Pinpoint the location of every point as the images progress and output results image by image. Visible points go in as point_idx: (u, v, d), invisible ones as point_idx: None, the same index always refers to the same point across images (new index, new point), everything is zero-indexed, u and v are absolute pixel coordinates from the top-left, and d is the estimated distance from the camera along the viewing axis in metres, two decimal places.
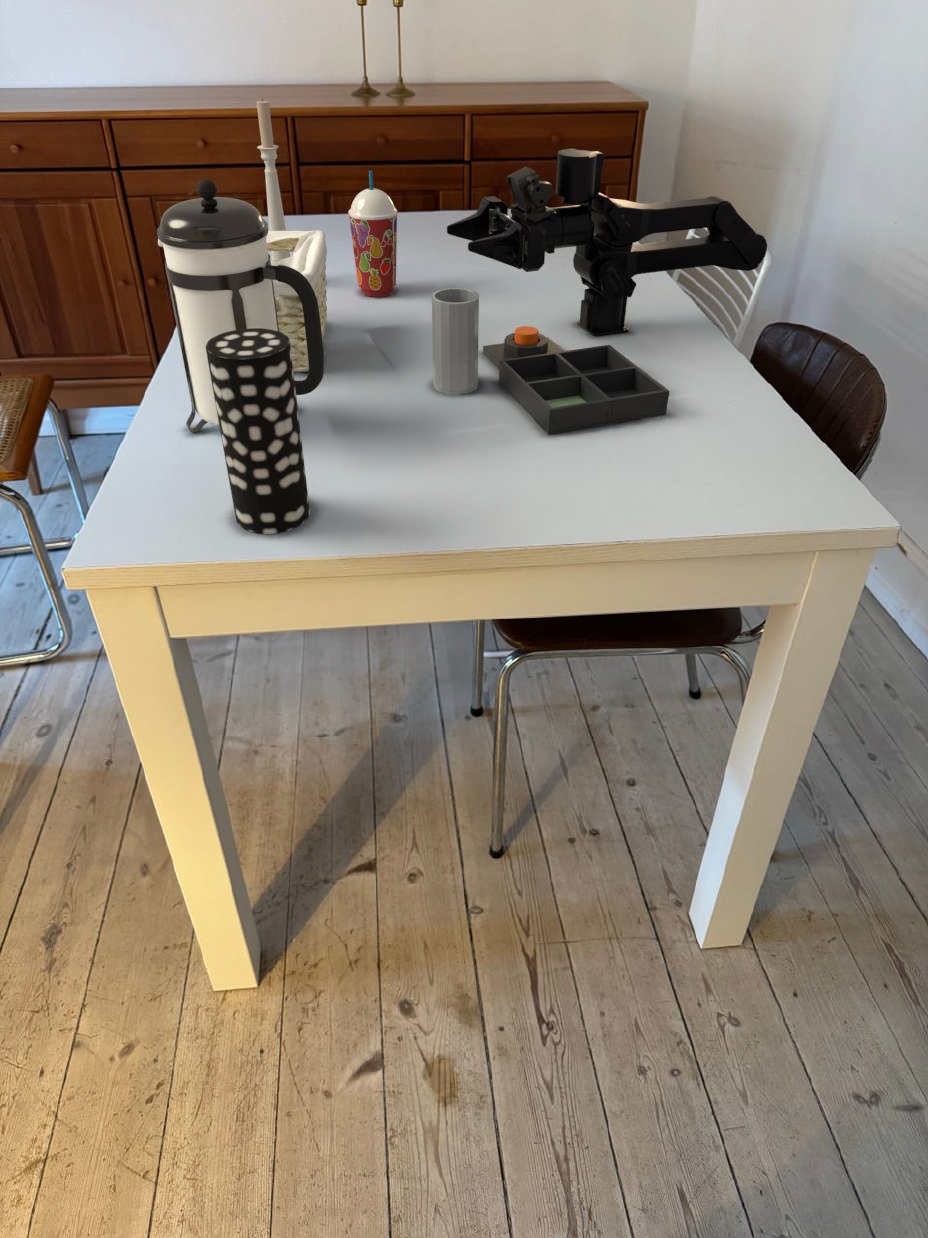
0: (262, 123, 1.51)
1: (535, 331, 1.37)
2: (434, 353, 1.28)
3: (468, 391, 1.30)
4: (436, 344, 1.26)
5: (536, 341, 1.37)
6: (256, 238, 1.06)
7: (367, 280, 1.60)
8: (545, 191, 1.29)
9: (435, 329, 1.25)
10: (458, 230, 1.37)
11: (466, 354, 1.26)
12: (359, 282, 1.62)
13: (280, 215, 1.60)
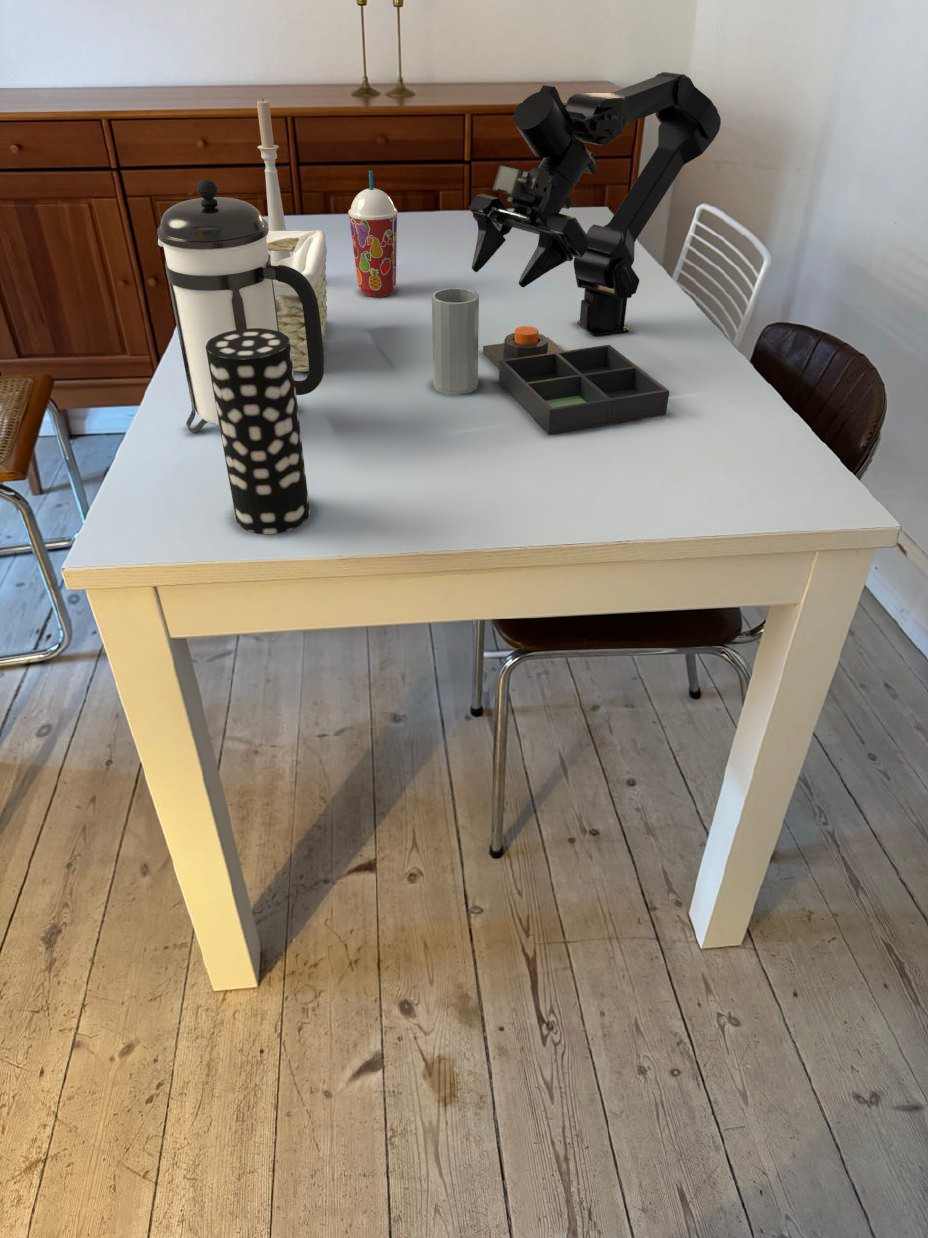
0: (262, 123, 1.51)
1: (535, 331, 1.37)
2: (434, 353, 1.28)
3: (468, 391, 1.30)
4: (436, 344, 1.26)
5: (536, 341, 1.37)
6: (256, 238, 1.06)
7: (367, 280, 1.60)
8: (543, 179, 1.20)
9: (435, 329, 1.25)
10: (481, 260, 1.31)
11: (466, 354, 1.26)
12: (359, 282, 1.62)
13: (281, 215, 1.60)
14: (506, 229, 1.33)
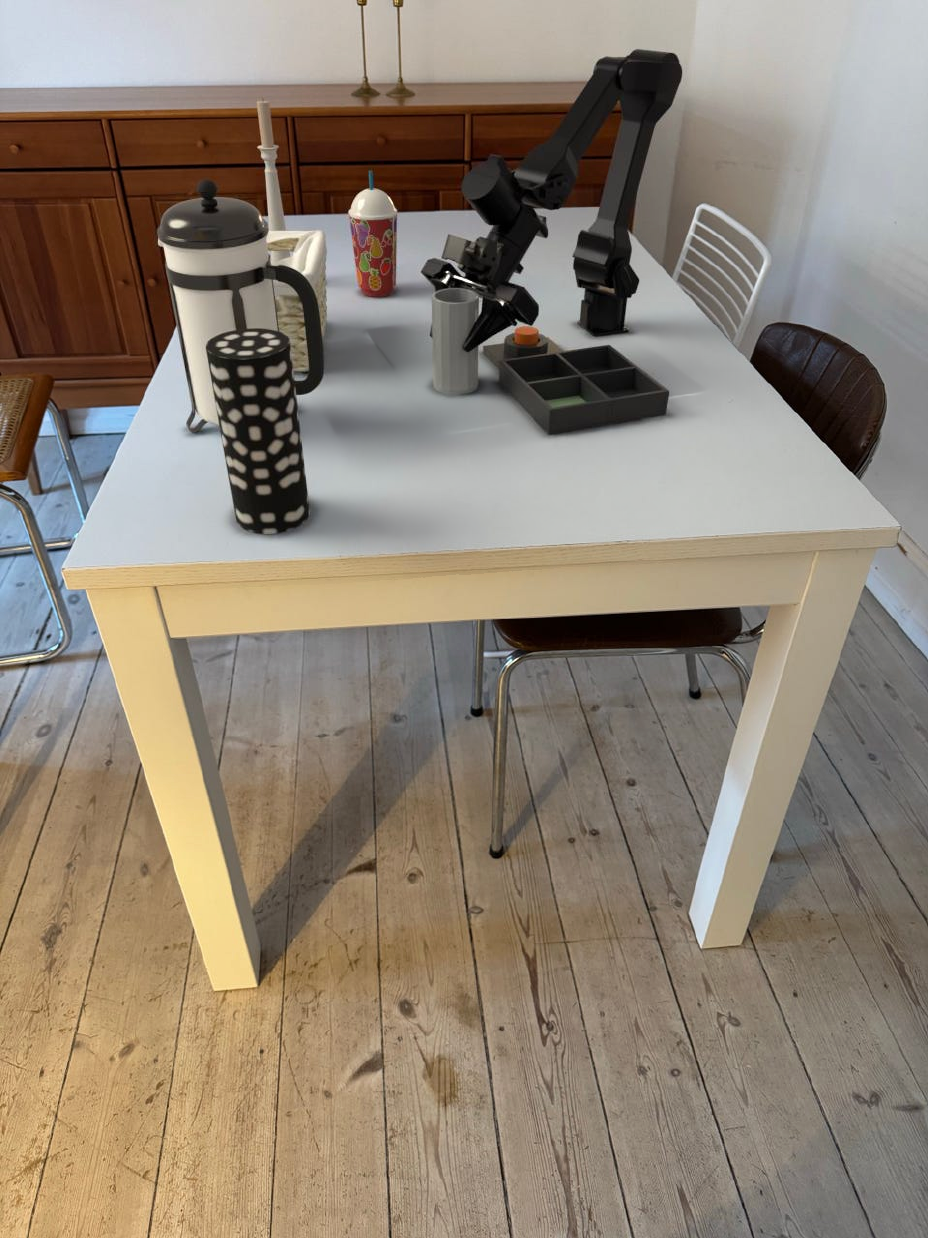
0: (262, 123, 1.51)
1: (535, 331, 1.37)
2: (434, 353, 1.28)
3: (468, 391, 1.30)
4: (436, 344, 1.26)
5: (536, 341, 1.37)
6: (256, 238, 1.06)
7: (367, 280, 1.60)
8: (491, 249, 1.19)
9: (435, 329, 1.25)
10: None
11: (466, 354, 1.26)
12: (359, 282, 1.62)
13: (281, 215, 1.60)
14: None
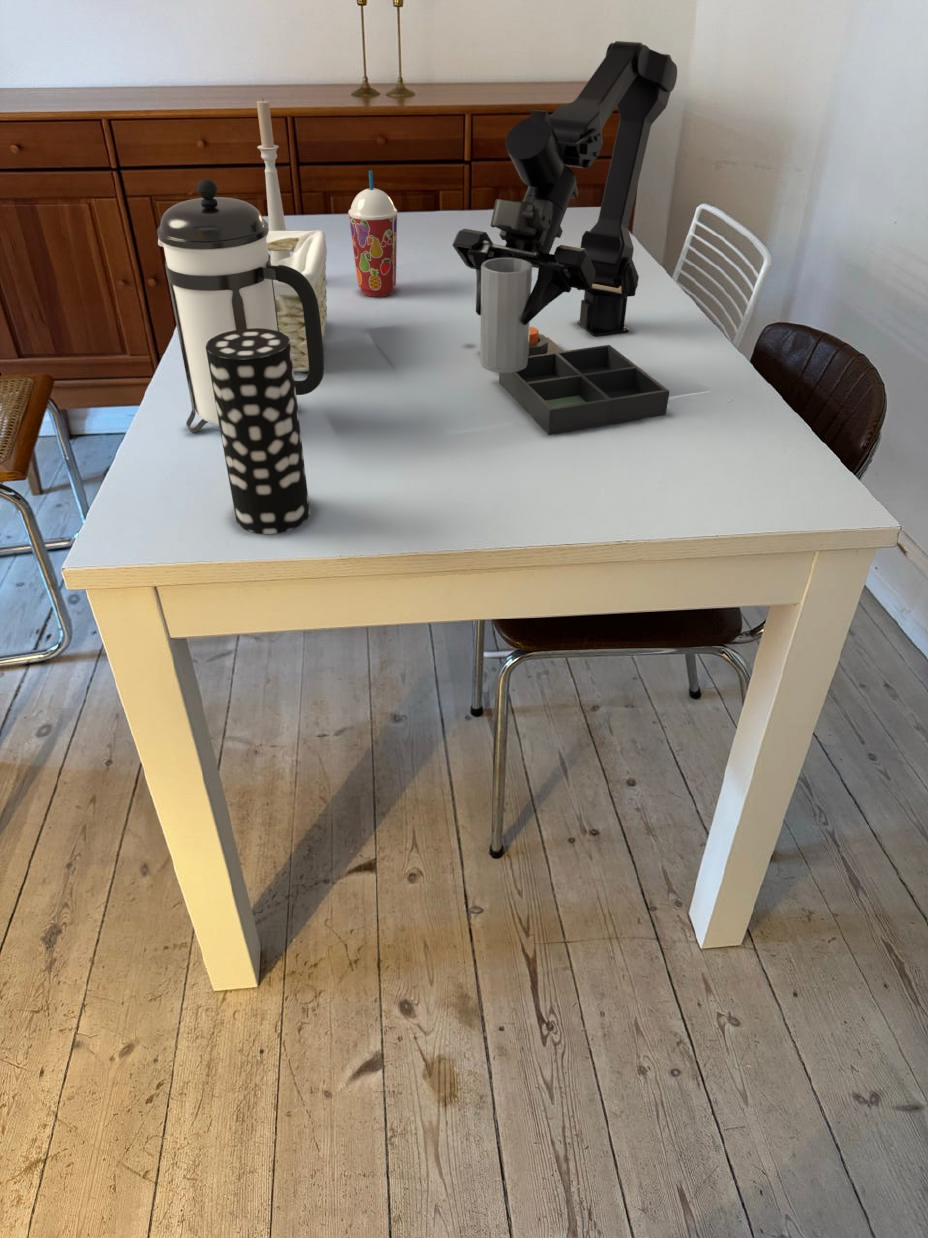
0: (262, 123, 1.51)
1: (535, 331, 1.37)
2: (486, 330, 1.19)
3: (522, 367, 1.22)
4: (490, 319, 1.18)
5: (536, 341, 1.37)
6: (256, 238, 1.06)
7: (367, 280, 1.60)
8: (548, 211, 1.12)
9: (489, 303, 1.16)
10: None
11: (522, 327, 1.18)
12: (359, 282, 1.62)
13: (281, 215, 1.60)
14: None
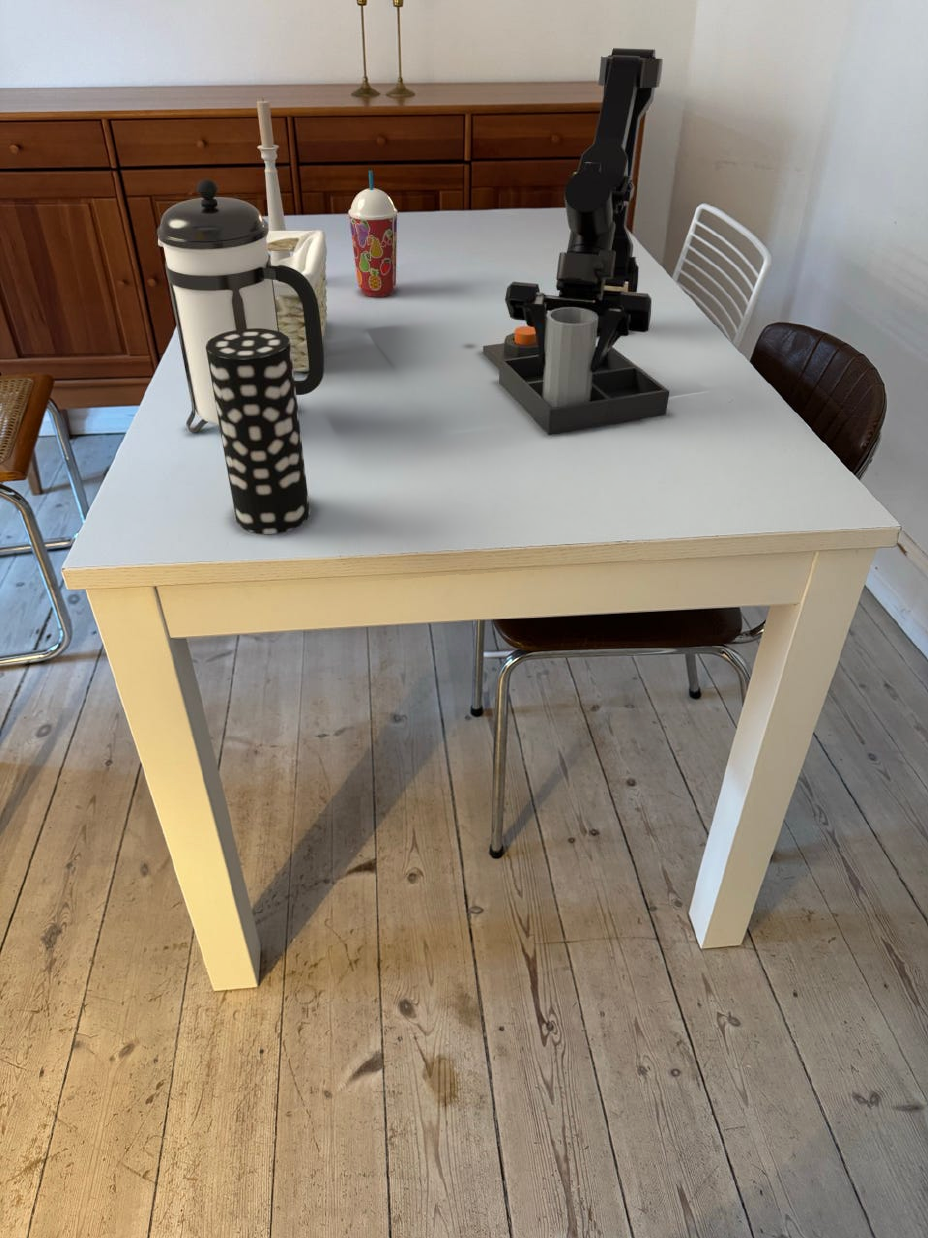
0: (262, 123, 1.51)
1: None
2: (555, 381, 1.19)
3: None
4: (561, 371, 1.17)
5: (536, 341, 1.37)
6: (256, 238, 1.06)
7: (367, 280, 1.60)
8: (613, 261, 1.13)
9: (560, 355, 1.16)
10: None
11: (590, 374, 1.19)
12: (359, 282, 1.62)
13: (281, 215, 1.60)
14: None
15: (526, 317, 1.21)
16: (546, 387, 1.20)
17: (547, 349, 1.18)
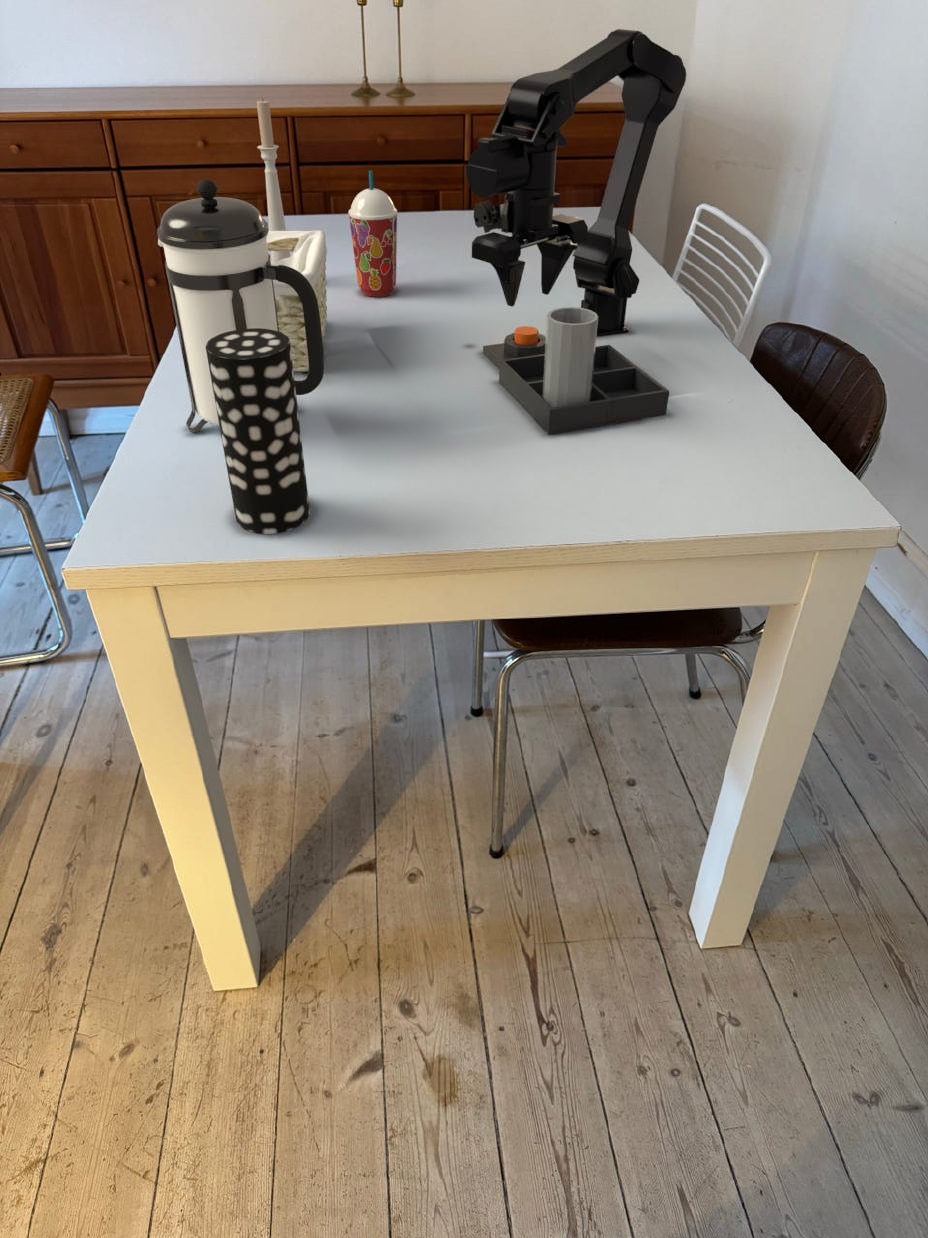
0: (262, 123, 1.51)
1: (535, 331, 1.37)
2: (555, 381, 1.19)
3: None
4: (561, 370, 1.17)
5: (536, 341, 1.37)
6: (256, 238, 1.06)
7: (367, 280, 1.60)
8: (478, 211, 1.29)
9: (560, 355, 1.16)
10: (546, 282, 1.35)
11: (590, 374, 1.19)
12: (359, 282, 1.62)
13: (281, 215, 1.60)
14: (570, 238, 1.31)
15: None
16: (546, 387, 1.20)
17: (547, 349, 1.18)
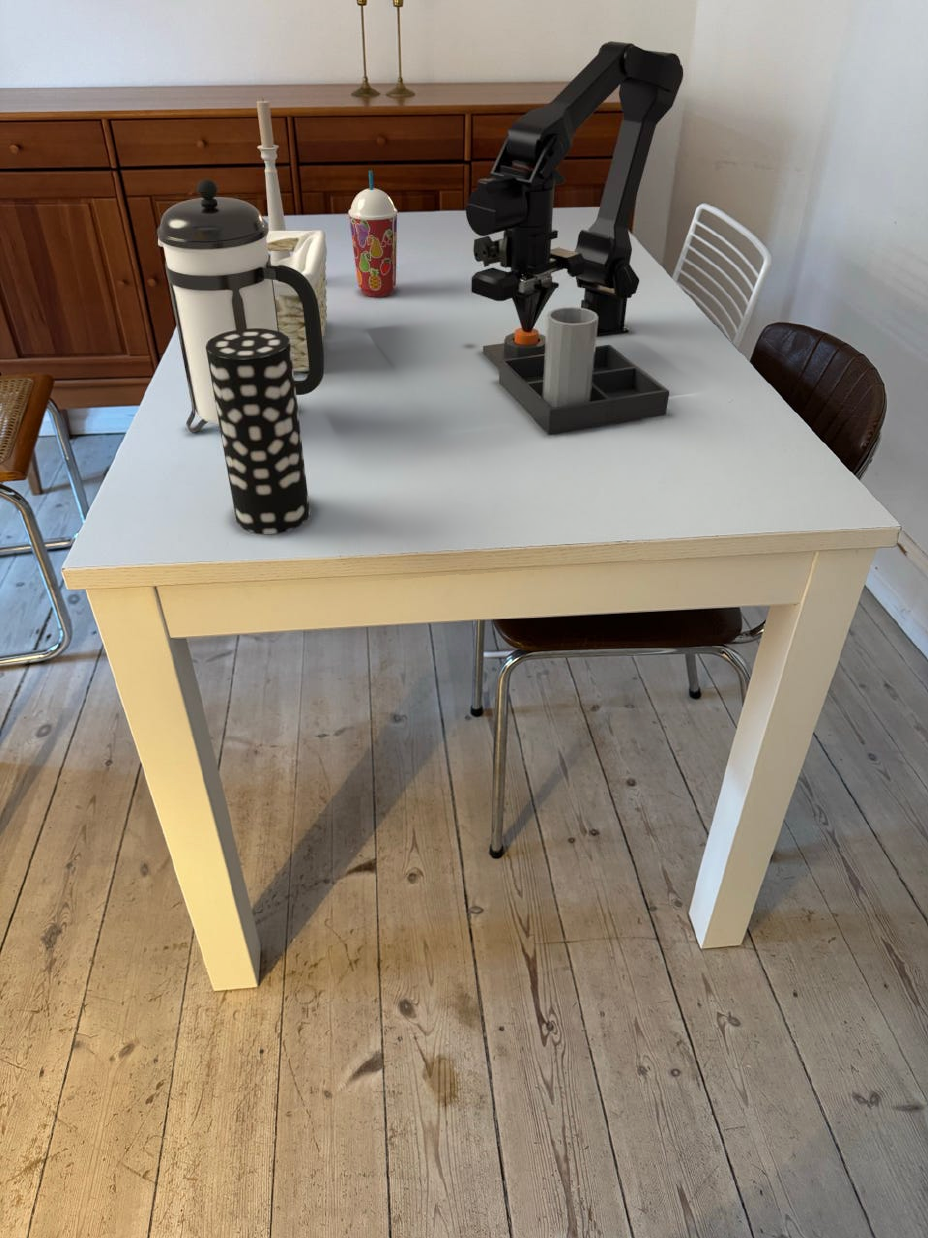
0: (262, 123, 1.51)
1: (535, 332, 1.37)
2: (555, 381, 1.19)
3: None
4: (561, 370, 1.17)
5: (536, 342, 1.38)
6: (256, 238, 1.06)
7: (367, 280, 1.60)
8: (478, 247, 1.32)
9: (560, 355, 1.16)
10: None
11: (590, 374, 1.19)
12: (359, 282, 1.62)
13: (281, 215, 1.60)
14: (567, 271, 1.34)
15: None
16: (546, 387, 1.20)
17: (547, 349, 1.18)
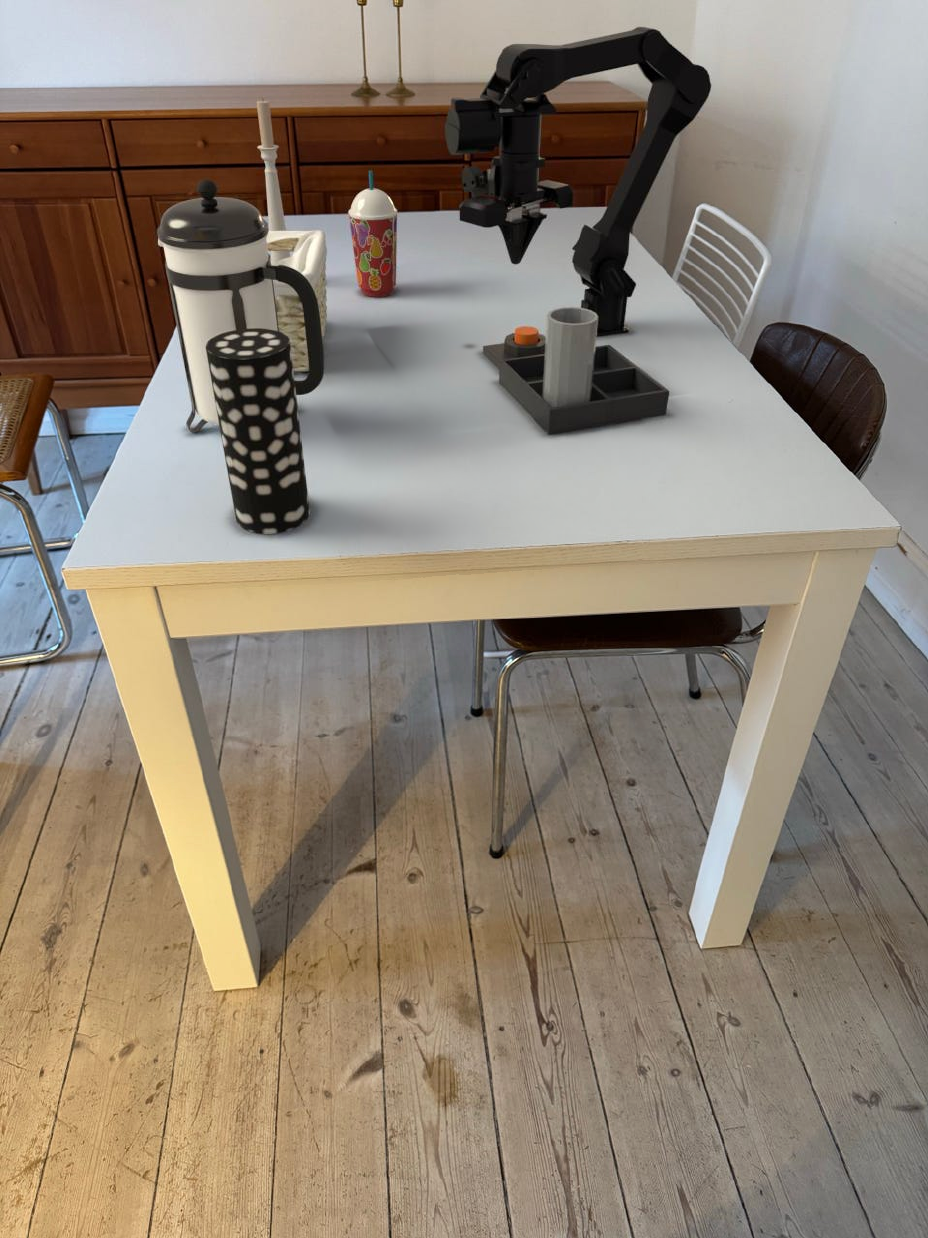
0: (262, 123, 1.51)
1: (535, 331, 1.37)
2: (555, 381, 1.19)
3: None
4: (561, 370, 1.17)
5: (536, 341, 1.37)
6: (256, 238, 1.06)
7: (367, 280, 1.60)
8: (466, 176, 1.33)
9: (560, 355, 1.16)
10: None
11: (590, 374, 1.19)
12: (359, 282, 1.62)
13: (281, 215, 1.60)
14: (555, 202, 1.35)
15: None
16: (546, 387, 1.20)
17: (547, 349, 1.18)
